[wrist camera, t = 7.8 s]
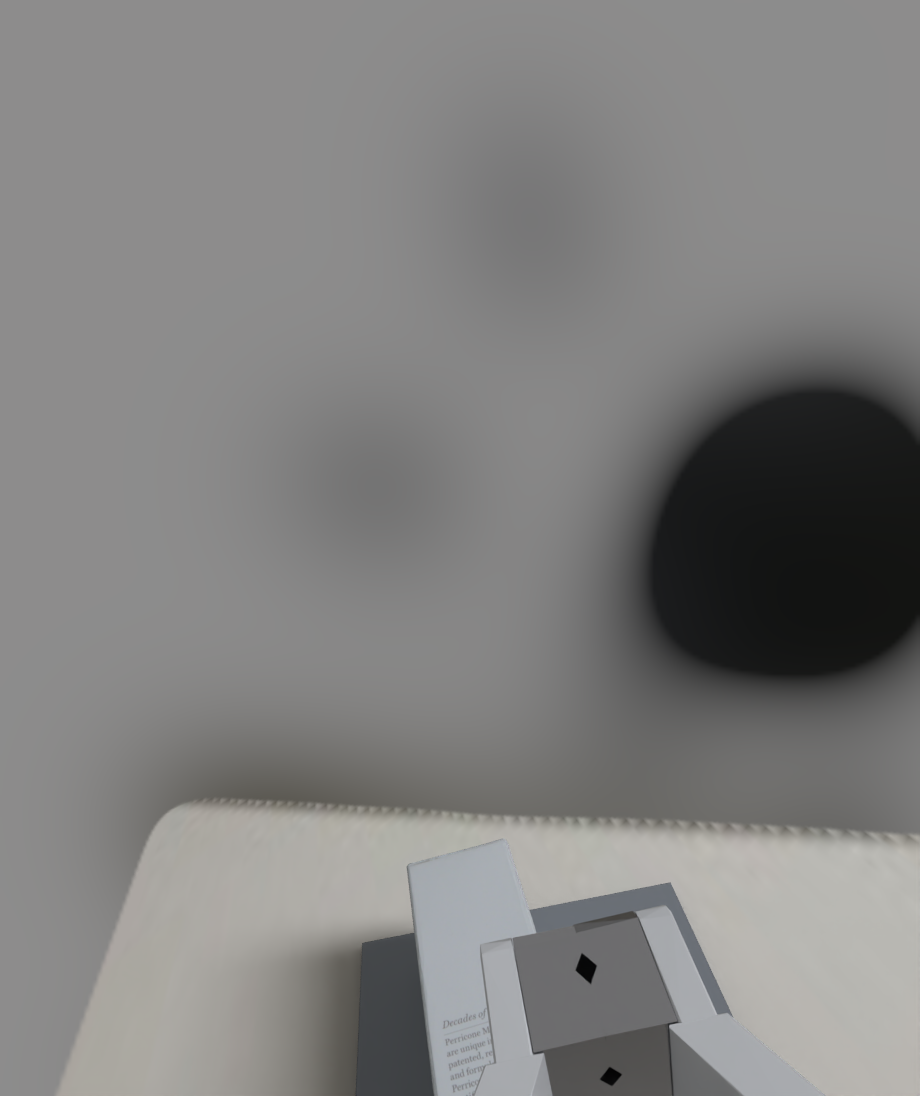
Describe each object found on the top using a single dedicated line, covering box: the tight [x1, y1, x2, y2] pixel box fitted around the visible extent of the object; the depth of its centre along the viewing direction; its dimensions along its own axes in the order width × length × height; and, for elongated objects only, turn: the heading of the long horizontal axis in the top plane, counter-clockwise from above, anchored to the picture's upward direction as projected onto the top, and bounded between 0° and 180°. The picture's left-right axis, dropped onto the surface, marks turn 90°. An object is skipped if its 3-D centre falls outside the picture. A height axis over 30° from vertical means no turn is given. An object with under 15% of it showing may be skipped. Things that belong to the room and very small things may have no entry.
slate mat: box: [356, 883, 733, 1096], centre depth 23 cm, size 14×12×1 cm
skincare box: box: [407, 839, 536, 1096], centre depth 21 cm, size 6×4×12 cm
